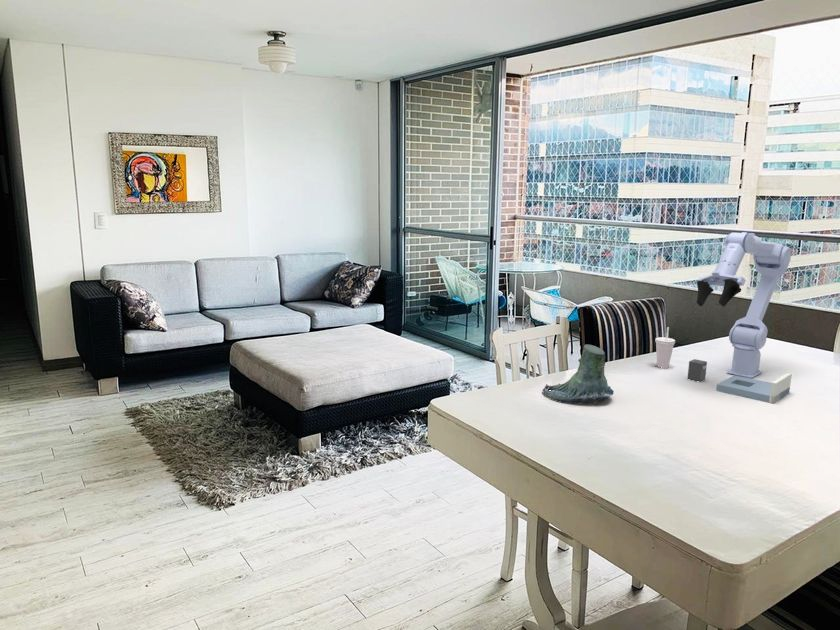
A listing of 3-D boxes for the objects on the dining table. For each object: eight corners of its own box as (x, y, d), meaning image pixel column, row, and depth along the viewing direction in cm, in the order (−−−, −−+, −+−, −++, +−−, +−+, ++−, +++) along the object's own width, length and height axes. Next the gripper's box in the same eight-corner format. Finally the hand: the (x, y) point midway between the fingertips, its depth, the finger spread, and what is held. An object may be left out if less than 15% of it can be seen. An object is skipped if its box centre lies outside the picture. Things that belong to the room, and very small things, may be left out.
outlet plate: (733, 381, 203) (735, 362, 202) (789, 393, 192) (791, 373, 191) (716, 390, 194) (718, 371, 193) (773, 403, 183) (776, 383, 181)
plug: (692, 376, 208) (694, 359, 206) (705, 379, 205) (707, 361, 203) (687, 379, 205) (689, 361, 204) (700, 382, 202) (702, 364, 201)
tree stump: (559, 382, 202) (576, 330, 196) (617, 411, 190) (637, 357, 185) (530, 393, 187) (548, 338, 182) (591, 425, 176) (612, 367, 171)
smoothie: (669, 370, 214) (673, 329, 212) (650, 367, 218) (653, 327, 215) (675, 366, 219) (678, 326, 217) (656, 363, 223) (659, 324, 220)
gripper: (699, 260, 197) (682, 296, 194) (742, 257, 184) (724, 297, 181) (712, 273, 200) (695, 309, 197) (755, 271, 187) (737, 310, 184)
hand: (710, 304), depth 189 cm, fingers open, 7 cm apart
